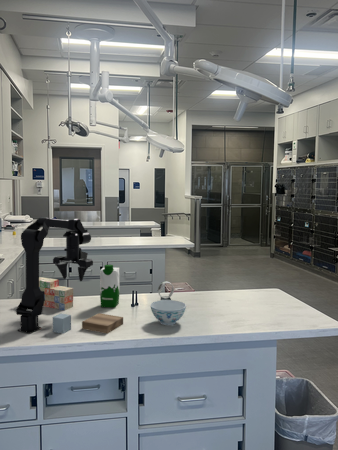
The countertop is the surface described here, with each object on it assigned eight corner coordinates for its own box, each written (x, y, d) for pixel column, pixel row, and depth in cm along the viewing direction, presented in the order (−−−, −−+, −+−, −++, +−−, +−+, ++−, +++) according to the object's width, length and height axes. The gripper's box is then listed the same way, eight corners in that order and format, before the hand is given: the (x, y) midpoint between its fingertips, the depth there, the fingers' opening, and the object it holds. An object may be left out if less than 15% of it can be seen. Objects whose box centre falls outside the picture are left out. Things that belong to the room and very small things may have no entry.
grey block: (63, 333, 156) (62, 318, 156) (52, 331, 158) (52, 316, 158) (71, 329, 161) (70, 315, 160) (61, 327, 163) (60, 313, 162)
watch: (156, 302, 199) (156, 280, 198) (172, 302, 201) (172, 280, 200) (158, 306, 194) (158, 283, 193) (174, 305, 195) (174, 283, 194)
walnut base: (107, 333, 157) (107, 326, 157) (82, 328, 162) (82, 321, 161) (123, 324, 168) (123, 317, 168) (98, 319, 173) (98, 313, 172)
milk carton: (98, 307, 190) (98, 266, 188) (103, 302, 199) (103, 262, 197) (116, 308, 189) (116, 266, 187) (121, 303, 198) (121, 263, 196)
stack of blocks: (73, 307, 191) (73, 281, 189) (64, 310, 185) (64, 284, 184) (40, 300, 201) (40, 276, 199) (30, 303, 195) (30, 278, 194)
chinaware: (145, 318, 175) (145, 301, 174) (177, 315, 180) (178, 298, 179) (157, 330, 161) (157, 311, 160) (191, 326, 166) (191, 308, 166)
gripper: (100, 245, 185) (100, 278, 187) (68, 242, 193) (68, 274, 195) (85, 248, 175) (85, 283, 177) (51, 245, 183) (52, 279, 185)
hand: (72, 279), depth 183 cm, fingers open, 9 cm apart
